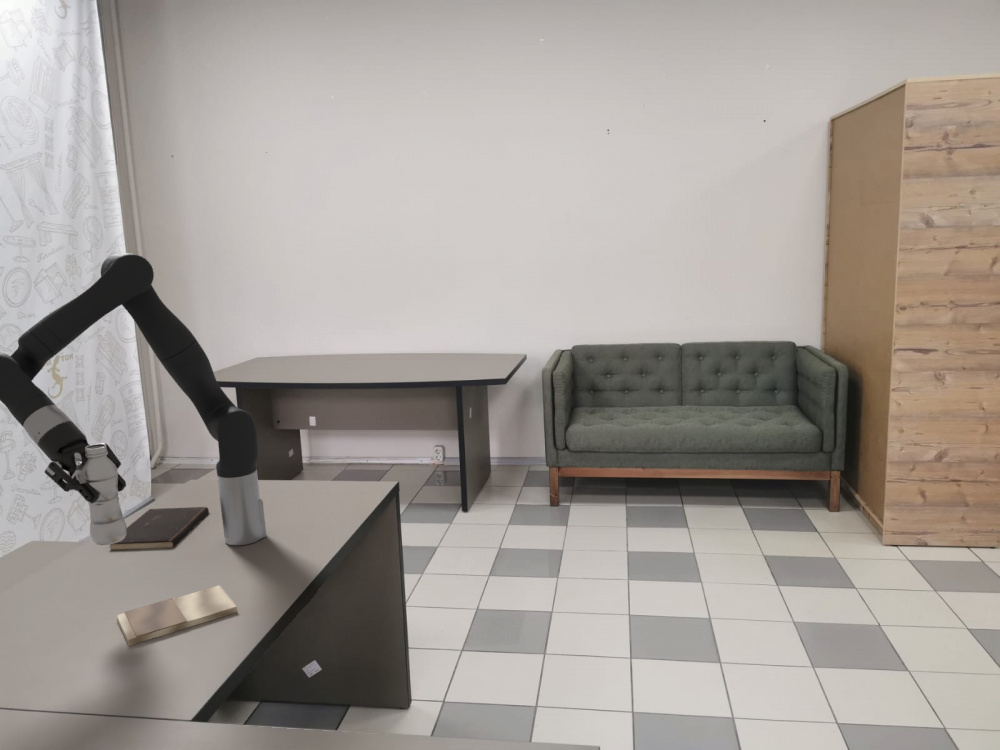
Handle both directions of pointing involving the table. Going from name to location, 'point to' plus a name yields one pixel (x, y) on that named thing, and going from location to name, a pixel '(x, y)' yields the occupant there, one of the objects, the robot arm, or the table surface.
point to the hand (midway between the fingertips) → (109, 494)
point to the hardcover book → (161, 528)
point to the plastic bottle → (104, 497)
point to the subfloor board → (175, 614)
